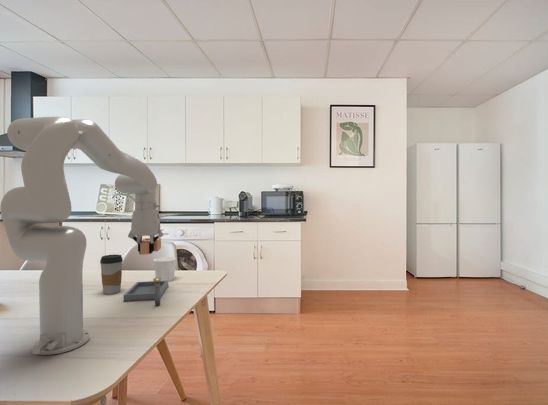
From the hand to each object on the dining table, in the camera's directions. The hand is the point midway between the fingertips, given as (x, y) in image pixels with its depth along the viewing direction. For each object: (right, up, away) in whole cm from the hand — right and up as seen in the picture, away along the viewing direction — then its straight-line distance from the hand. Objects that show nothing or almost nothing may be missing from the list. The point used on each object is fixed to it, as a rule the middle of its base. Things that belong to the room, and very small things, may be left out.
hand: (146, 252), depth 119 cm
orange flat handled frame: (-1, 0, +4) cm, 4 cm away
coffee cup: (-17, -17, +6) cm, 25 cm away
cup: (-1, -17, +25) cm, 30 cm away
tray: (-1, -17, +4) cm, 18 cm away
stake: (+8, -18, -9) cm, 21 cm away
